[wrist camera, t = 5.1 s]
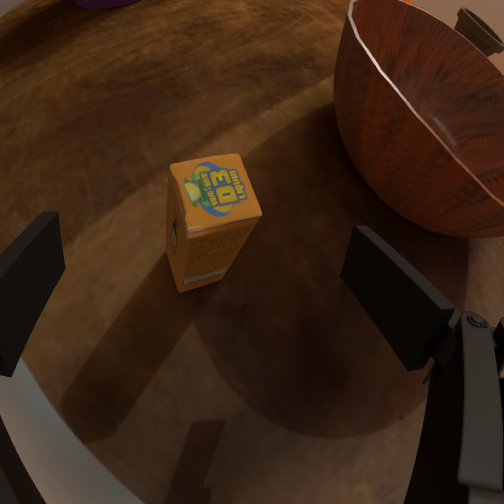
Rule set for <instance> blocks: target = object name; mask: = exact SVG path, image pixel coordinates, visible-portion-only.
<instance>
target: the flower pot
mask: <svg viewBox="0 0 504 504" xmlns="http://www.w3.org/2000/svg"><path fill="white" fill-rule="evenodd" d="M457 16H458V21H457V23H456V26H455V28H454V30H456V31H457V32H459V33H460V34H461V35H463V36H464V37H465V38H466V39H467V40H469V41H470V42H471V43H472V44H473V45H474V46H475V47H477V48H478V49H479V50H480V51H481V52H482V53H483V54H484V55H485V56H486V57H488V56H490V55H492V54H493V53H499V54H500V53H501V52H502V51H503V50H504V43H503V41H502V40H501V39H500V38H499V36H498V35H497V34H496V33H495V32H494V31H493V30H492V29H491V28H490V27H489V26H488V25H487V24H486V23H485V22H484V21H483V20H482V19H480V18H479V17H478V16H477V15H476V14H474V13H473V12H471V11H470V10H469V9H467V8H465V7H461V9H460V10H459V12H458V13H457Z"/></svg>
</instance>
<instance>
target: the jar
mask: <svg viewBox="0 0 504 504" xmlns="http://www.w3.org/2000/svg"><path fill="white" fill-rule="evenodd" d="M74 1H75V3H76V5H78V6H79V7H82V8H86V9H106V8H114V7H119V6H124V5H128V4H131V3H134V2H137V1H140V0H74Z"/></svg>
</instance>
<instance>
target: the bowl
mask: <svg viewBox="0 0 504 504" xmlns="http://www.w3.org/2000/svg"><path fill="white" fill-rule="evenodd" d="M333 95H334V106H335V112H336V119H337V126H338V131H339V134H340V136H341V138H342V141H343V143H344V146H345V148H346V151H347V153H348V156H349V158H350V159H351V161H352V162H353V164H354V165H355V167H356V168H357V170H358V172H359V173H360V175H361V176H362V178H363V179H364V181H365V182H366V183H367V184H368V185H369V186H370V187H371V189H372V190H373V191H374V192H375V193H376V194H377V195H378V196H379V198H380V199H381V200H382V201H383V202H385V203H386V204H387V205H388V206H390V207H391V208H392V209H393V210H395V211H396V212H397V213H398V214H400V215H401V216H402V217H403V218H405V219H407V220H409V221H411V222H413V223H415V224H417V225H419V226H420V227H422V228H424V229H426V230H429V231H432V232H437V233H442V234H446V235H451V236H456V237H463V238H490V237H499V236H504V75H503V74H502V73H501V72H500V71H499V70H498V69H497V67H496V66H495V65H494V64H493V63H492V62H491V61H490V60H489V59H488V58H487V57H486V56H485V55H484V54H483V53H482V52H481V51H480V50H479V49H478V48H477V47H475V46H474V45H473V44H472V43H471V42H470V41H469V40H467V39H466V38H465V37H464V36H463V35H461V34H460V33H459V32H457V31H456V30H454V29H453V28H451V27H450V26H449V25H447V24H446V23H445V22H443V21H442V20H440V19H438V18H436V17H435V16H433V15H431V14H430V13H428V12H426V11H424V10H422V9H421V8H418V7H416V6H414V5H411V4H409V3H406V2H404V1H402V0H351V1H350V4H349V7H348V11H347V15H346V19H345V23H344V27H343V32H342V36H341V41H340V45H339V50H338V55H337V60H336V66H335V74H334V87H333Z"/></svg>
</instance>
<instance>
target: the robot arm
mask: <svg viewBox="0 0 504 504" xmlns="http://www.w3.org/2000/svg"><path fill="white" fill-rule="evenodd" d="M64 271H65V263H64V256H63V249H62V241H61V233H60V224H59V214H58V212H42V213H41V214H40V215H39V216H38V217H37V218H36V219H35V220H34V221H33V222H32V223H31V224H30V225H29V226H28V227H27V228H26V229H25V230H24V231H23V232H22V233H21V234H20V235H19V236H18V237H17V238H16V239H15V240H14V241H13V242H12V243H11V244H10V245H9V246H8V247H7V249H6V250H5V251H4V252H3V253H2V254H1V255H0V375H2V376H7V377H12V374H13V372H14V370H15V368H16V365H17V363H18V361H19V358H20V356H21V354H22V352H23V349H24V347H25V345H26V343H27V341H28V339H29V337H30V334H31V332H32V330H33V328H34V326H35V324H36V322H37V320H38V318H39V316H40V314H41V312H42V310H43V309H44V307H45V305H46V303H47V301H48V299H49V297H50V295H51V294H52V292H53V290H54V288H55V286H56V285H57V283H58V281H59V279H60V277H61V276H62V274H63V272H64ZM340 277H341V278H342V280H343V281H344V282H345V284H346V285H347V286H348V288H349V289H350V290H351V292H352V293H353V294H354V296H355V297H356V299H357V300H358V301H359V303H360V304H361V305H362V307H363V308H364V309H365V311H366V312H367V314H368V315H369V316H370V318H371V319H372V320H373V322H374V323H375V325H376V326H377V327H378V329H379V330H380V332H381V333H382V334H383V336H384V337H385V339H386V340H387V342H388V343H389V344H390V346H391V347H392V349H393V350H394V352H395V353H396V354H397V356H398V357H399V359H400V360H401V362H402V363H403V365H404V366H405V368H406V369H407V371H408V372H409V371H414V370H418V369H422V368H424V366H425V365H426V363H427V361H428V359H429V358H430V356H431V357H432V358H433V359H434V360H435V363H434V365H433V366H432V368H431V370H430V371H429V373H428V374H427V376H426V378H425V379H424V381H423V383H422V384H423V385H425V383H426V382H427V381H428V380H430V382H429V385H428V386H429V389H428V397H427V403H426V410H425V416H424V421H423V427H422V432H421V437H420V442H419V447H418V451H417V456H416V460H415V464H414V468H413V472H412V476H411V480H410V483H409V487H408V490H407V494H406V497H405V500H404V504H504V377H503V378H502V377H501V375H500V373H501V372H502V370H503V369H504V317H503V318H501V319H500V321H499V323H498V325H497V327H490V326H489V324H488V323H487V321H486V320H485V319H484V318H482V317H481V316H480V315H478V314H476V313H473V312H469V311H467V312H463V313H461V312H460V311H459V310H458V309H457V308H456V307H455V306H454V305H453V304H452V303H451V302H450V301H449V300H448V299H447V298H446V297H445V296H444V295H443V294H442V293H441V292H440V291H439V290H437V288H436V287H435V286H434V285H432V284H431V283H430V282H429V281H428V280H427V279H426V278H425V277H424V276H423V275H422V274H421V273H420V272H418V271H417V270H416V269H415V268H414V267H413V266H412V265H411V264H410V263H409V262H408V261H407V260H405V259H404V258H403V257H402V256H401V255H400V254H399V253H398V252H397V251H395V250H394V249H393V248H392V247H391V246H390V245H389V244H387V243H386V242H385V241H384V240H383V239H382V238H381V237H379V236H378V235H377V234H376V233H375V232H374V231H372V230H371V229H370V228H369V227H368V226H358V225H354V227H353V231H352V235H351V239H350V243H349V246H348V250H347V254H346V257H345V261H344V264H343V268H342V271H341V275H340ZM0 504H46V502H45V501H44V499H43V498H42V496H41V494H40V493H39V491H38V489H37V488H36V486H35V484H34V483H33V481H32V479H31V477H30V476H29V474H28V472H27V470H26V469H25V466H24V465H23V463H22V461H21V459H20V457H19V455H18V453H17V451H16V449H15V447H14V445H13V443H12V441H11V439H10V436H9V434H8V432H7V430H6V427H5V425H4V423H3V420H2V418H1V416H0Z"/></svg>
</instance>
